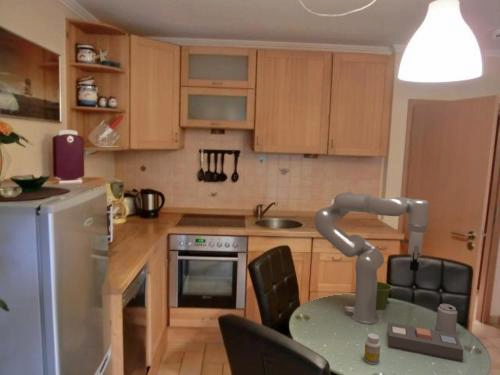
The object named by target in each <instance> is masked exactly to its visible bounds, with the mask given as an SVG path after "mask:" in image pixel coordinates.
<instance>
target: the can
mask: <svg viewBox="0 0 500 375" xmlns="http://www.w3.org/2000/svg"><path fill="white" fill-rule="evenodd" d="M457 320H458V311H457V308H456V307H455V306H453V305H451V304H448V303H441V304H439V306H438V307H437V314H436V326H435V329H436V330H435V331H440V332H445V333H451V334H456V332H457Z"/></svg>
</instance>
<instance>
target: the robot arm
mask: <svg viewBox="0 0 500 375" xmlns="http://www.w3.org/2000/svg"><path fill="white" fill-rule="evenodd" d="M429 208H430V203H429V201H428V200H426V199H419V198H414V199H413V198H408V197H404V196H399V197H395V198H385V197H375V196H372V195H371V194H369V193H364V194H363V193H354V192H351V191H346V192H342V193H338V194H337V195H336V196H335V197H334V200H333V203H332V204H331V205H330V206H327V207H323V208H321V209H319V210H317V211H316V212H315V215H314V216H313V223H314V227H315V230H316V231H317V232H318V234H319V235H320V236H321V237H323V238H324V240H326V241H328V243H330V244H331V245H332V246H333V247H334V248H335V249H336V250H338V251H339V252H340V253H341V254H342V255H344V256H345V257H346V258H354V257H356V256H357V258H356V260H355V290H354V291H355V294H354V295H355V296H354V305H352V306H349V305H344V310H345V311H346V313H350V317H351V319H352V320H354V321H356V322H357V323H360V324H366V325H373V324H377V323H378V322H379V321H380V320H379V316H378V315H377V314H376V313H377V311H376V310H377V309H376V298H377V282H378V273H377V272H378V269H379V268H381V267H382V266H383V265H384V262H385V257H384V255H383V253H382V251H381V250H380V249H378V248H377V247H376V246H374V245H373V244H372V243H370V242H369V241H368V239H366V238H364V237H363V236H360V235H358V234H351V235H349V234H347V233H346V232H345V231H343V230H342V229H341V228H340V227H338V226H336V225H334V223H337V222H339V221H340V220H342V219H343V218H344V217H345V216H346V215H348V214H349V213H350V212H355V213H366V214H371V215H377V216H387V217H398V216H399V217H400V216H402V215H405V214H408V217H407V218H408V220H407V232H409V233H408V235H409V236H408V248H407V253H408V256H410V265H409V270H410V271H413V272H414V271H416V272H418V271H419V266H420V264H419V263H420V262H419V260H420V259H419V258H420V257H421V256H422V252H423V243H424V242H423V241H424V234H427V233H428V221H429Z"/></svg>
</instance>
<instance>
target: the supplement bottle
mask: <svg viewBox="0 0 500 375" xmlns="http://www.w3.org/2000/svg"><path fill="white" fill-rule="evenodd" d="M380 355H381V342H380V337H379V335H378V334H375V333H368V334H367V339H366V340H365V342H364V360H365V362H366V363H367V364H371V365H377V364H378V365H379V363H380V359H381V357H380Z"/></svg>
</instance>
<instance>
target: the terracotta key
mask: <svg viewBox="0 0 500 375" xmlns="http://www.w3.org/2000/svg"><path fill="white" fill-rule="evenodd" d="M427 329H428V328H423V329H422V327H417V328H416V337H419V338H424V339H429V340H431V333H430V330H431V329H429V330H427Z"/></svg>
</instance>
